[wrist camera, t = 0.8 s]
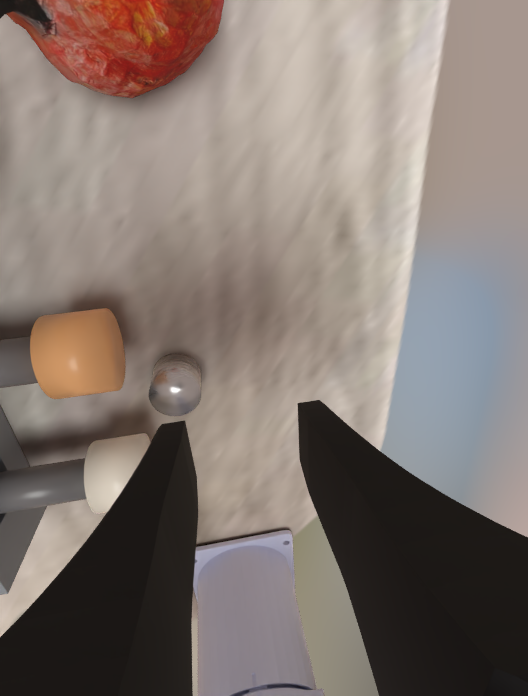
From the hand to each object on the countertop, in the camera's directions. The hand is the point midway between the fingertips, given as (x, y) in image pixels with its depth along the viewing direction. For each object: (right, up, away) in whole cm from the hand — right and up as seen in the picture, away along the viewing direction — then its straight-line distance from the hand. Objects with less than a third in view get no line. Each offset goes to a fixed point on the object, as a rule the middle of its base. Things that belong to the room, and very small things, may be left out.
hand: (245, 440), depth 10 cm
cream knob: (-11, -4, +10) cm, 15 cm away
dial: (-4, +1, +10) cm, 11 cm away
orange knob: (-11, +3, +7) cm, 13 cm away
